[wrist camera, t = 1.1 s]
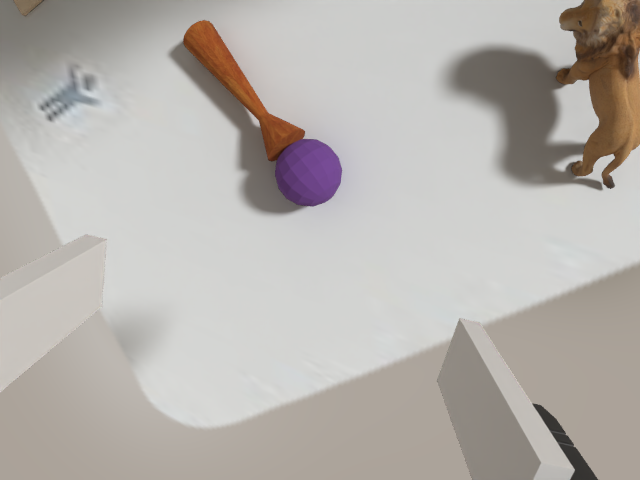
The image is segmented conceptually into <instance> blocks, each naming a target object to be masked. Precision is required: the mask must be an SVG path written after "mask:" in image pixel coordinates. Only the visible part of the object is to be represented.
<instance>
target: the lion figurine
mask: <svg viewBox="0 0 640 480" xmlns="http://www.w3.org/2000/svg"><path fill="white" fill-rule="evenodd" d="M559 22H560V24H561V25H560V26H561V29H563V30H565V31H573V35H574V37H575V38H576V46H575V50H576V57H577V61H576V63H575V64H574V65H573V66H572V68H571V69H564V68H563V69H561V71H559V72H558V74H557V77H556V79H557V80H558V81H559V82H560V83H562V84H573V83H575V82H576V81H577V80H588V79H589V89H590V96H591V101H592V105H593V108H594V111H595V113H596V115H597V116H598V118H599V126H598V128H597V129H596V130H595V131H594V132H593V133H592V134H591V135H590V137H589V139H588V141H587V143H586V145H585V147H584V152H583V162H582V161H577V162H576V163H574V164H573V166H572V172H573V173H574V174H575V175H576V176H586V175H588V174H590V173H592V172H593V166H594V164H595V162H596V161H597V160H598V159H599V158H600V157H603V156H607V155H610V154H614V156H615V159H614V160H613V161H612V162H611V163H609V164H608V166H607V167H606V168H605V169H604V171H603V172H602V178H603V184H604V185H606V187H607V188H610V189H611V188H614V187H615V185H614V182H613V180H612V177H611V176H610V175H609V173H610V172H612V171H613V170H615V169H616V168H617V167H618V166H620V165H621V164H622V162H623V161H624V160H625V159H626V158H627V157H628V155H629V154H630V152H631V151H632V150H634V149H635V148H636V147H638V146H639V144H640V78H639V67H638V54H639V50H640V0H584V1H583V2H582V4H581V5H580V6H578V7H575V8H569V9H567V10H565V11H564V12H563V13H562V14H561V16H560V18H559Z"/></svg>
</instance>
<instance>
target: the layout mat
mask: <svg viewBox="0 0 640 480" xmlns="http://www.w3.org/2000/svg"><path fill="white" fill-rule="evenodd" d="M13 1H14V2H15V4H16V6H17V7H18V9H19V11H20V12H21V14H22V15H24V16H26V15H27V14H28V13H29V12H30V11H32V10H33V9H34V8H35V7H36V6H37V5H38V4H40V3H41V2H42V1H43V0H13Z"/></svg>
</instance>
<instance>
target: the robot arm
mask: <svg viewBox="0 0 640 480" xmlns="http://www.w3.org/2000/svg"><path fill="white" fill-rule="evenodd" d="M106 243H107V239H103V238H99V237H94V236H90V235H84V236H82V237H80V238H78V239H76V240H74V241H72V242H70V243H68V244H66V245H64V246H62V247H60V248H58V249H56V250H54V251H52V252H50V253H48V254H46V255H44V256H42V257H40V258H38V259H36V260H34V261H32V262H30V263H28V264H26V265H24V266H22V267H20V268H18V269H16V270H15V271H12V272H10V273H8V274H7V275H4V276H3V277H1V278H0V392H1V391H2V390H4V389H5V388H6V387H7V386H8V385H10V384H11V383H12V382H13V381H14V380H16V379H17V378H18V377H19V376H20V375H21V374H23V373H24V372H25V371H26V370H27V369H29V368H30V367H31V366H32V365H33V364H35V363H36V362H37V361H38V360H39V359H40V358H42V357H43V356H44V355H45V354H46V353H48V352H49V351H50V350H51V349H52V348H53V347H55V346H56V345H57V344H58V343H59V342H61V341H62V340H63V339H64V338H65V337H67V336H68V335H69V334H70V333H71V332H73V331H74V330H75V329H76V328H77V327H78V326H79V325H81V324H82V323H83V322H84V321H85V320H87V319H88V318H89V317H90V316H91V315H93V314H94V313H95V312H96V311H98V310H99V309H100V308H101V307H102V299H103V285H104V271H105V257H106ZM437 382H438V385H439V387H440V390H441V393H442V396H443V399H444V402H445V405H446V407H447V410H448V413H449V416H450V419H451V421H452V424H453V427H454V430H455V433H456V435H457V438H458V441H459V444H460V447H461V450H462V452H463V455H464V458H465V461H466V464H467V467H468V469H469V472H470V475H471V478H472V480H598V479H597V477H596V476H595V475H594V473H593V472H592V470H591V469H590V467H589V466H588V465H587V463H586V462H585V460H584V459H583V457H582V456H581V454H580V453H579V451H578V450H577V449H576V448H575V447H574V444H573V443H572V441H571V440H570V439H569V437H568V436H567V435H566V433H565V431H564V430H563V429H562V427H561V426H560V424H559V423H558V421H557V420H556V419H555V418H554V417H553V416H552V415H551V414H550V413H549V412H548V411H547V410H546V409H544V408H543V407H542V406H541V405H537V404H533V403H531V401H530V400H529V398H528V397H527V395H526V394H525V392H524V390H523V389H522V387H521V386H520V384H519V383H518V381H517V380H516V378H515V377H514V375H513V374H512V372H511V370H510V369H509V367H508V366H507V364H506V363H505V361H504V360H503V358H502V357H501V355H500V353H499V352H498V350H497V349H496V347H495V346H494V344H493V343H492V341H491V339H490V338H489V336H488V335H487V333H486V332H485V330H484V329H483V327H482V326H481V324H480V323H479V322H474V321H470V320H465V319H461V318H459V321H458V324H457V326H456V329H455V332H454V335H453V338H452V340H451V343H450V346H449V349H448V352H447V354H446V357H445V360H444V362H443V365H442V368H441V371H440V373H439V376H438V379H437Z"/></svg>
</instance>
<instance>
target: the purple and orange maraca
mask: <svg viewBox="0 0 640 480" xmlns="http://www.w3.org/2000/svg"><path fill="white" fill-rule="evenodd" d="M183 43H184V45H185V47H186V48H187V49H188V50H189V51H190V52H191V53H192V54H193V55H194V56H195V57H196V58H197V59H198V60H199V61H200V62H201V63H202V64H203V65H204V66H205V67H206V68H207V69H208V70H209V71H210V72H211V73H212V74H213V75H214V76H215V77H216V78H217V79H218V80H219V81H220V82H221V83H222V84H223V85H224V86H225V87H226V88H227V89H228V90H229V91H230V92H231V93H232V94H233V95H234V96H235V97H236V98H237V99H238V100H239V101H240V102H241V103H242V104H243V105H244V106H245V107H246V108H247V109H248V110H249V111H250V112H251V113H252V114H253V115H254V116H255V117H256V118H257V119H258V120H259V122H260V127H261V131H262V135H263V139H264V143H265V148H266V152H267V156H268V160H269V161H275V160H277V163H276V170H275V177H276V180H277V184H278V188H279V190H280V191H281V192H282V193H283V195H284V196H285V197H286V198H287V199H288V200H290V201H292V202H294V203H296V204H297V205H304V206H316V205H319V204H322V203H325V202H326V201H328V200H329V199H330V198H332V197H333V195H334V194H335V192H336V190H337V189H338V187H339V185H340V183H341V174H342V168H341V165H340V161H339V158H338V156H337V155H336V154H335V153H334V152H333V150H332V149H331V148H330V147H329V146H328V145H326V144H324V143H322V142H320V141H318V140H314V139H303V137H304V135H305V131H304V130H303V129H301V128H298V127H296V126H294V125H292V124H290V123H288V122H286V121H284V120H282V119H280V118H278V117H275V116H273V115H271V114H269V113H268V112H267V110H266V109H265V107H264V106H263V104H262V102H261V101H260V99H259V98H258V96H257V94H256V93H255V91H254V90H253V88H252V87H251V85H250V83H249V82H248V80H247V79H246V77H245V75H244V74H243V72H242V71H241V69H240V67H239V66H238V64H237V63H236V61H235V59H234V58H233V56H232V55H231V53H230V52H229V50H228V48H227V47H226V45H225V44H224V42H223V40H222V39H221V37H220V36H219V34H218V32H217V31H216V29H215V28H214V26H213V24H211V23H210V22H209V21H205V20H203V21H199V22H197V23H195V24H193V25H192V26H191V27H190V28H189V29H188V30H187V32H186V33H185V35H184V40H183Z"/></svg>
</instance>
